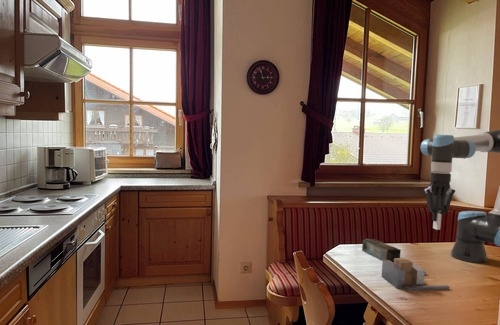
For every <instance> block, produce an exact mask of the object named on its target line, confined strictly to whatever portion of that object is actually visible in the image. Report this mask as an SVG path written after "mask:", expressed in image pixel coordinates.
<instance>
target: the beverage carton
mask: <svg viewBox="0 0 500 325" xmlns="http://www.w3.org/2000/svg"><path fill="white" fill-rule="evenodd" d="M361 250H362V252H363V253H366V254H368V255H370V256H371V257H374V258H376V259H378V260H380V261H382V262H383V260H390V261H392V262H393V263H394V258H401V250H402V249H400V248H398V247H395V246H393V245H389V244H387V243H385V242H382V241H380V240H378V239H376V238H372V239H369V238H366V239H363V240H362V245H361Z"/></svg>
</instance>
